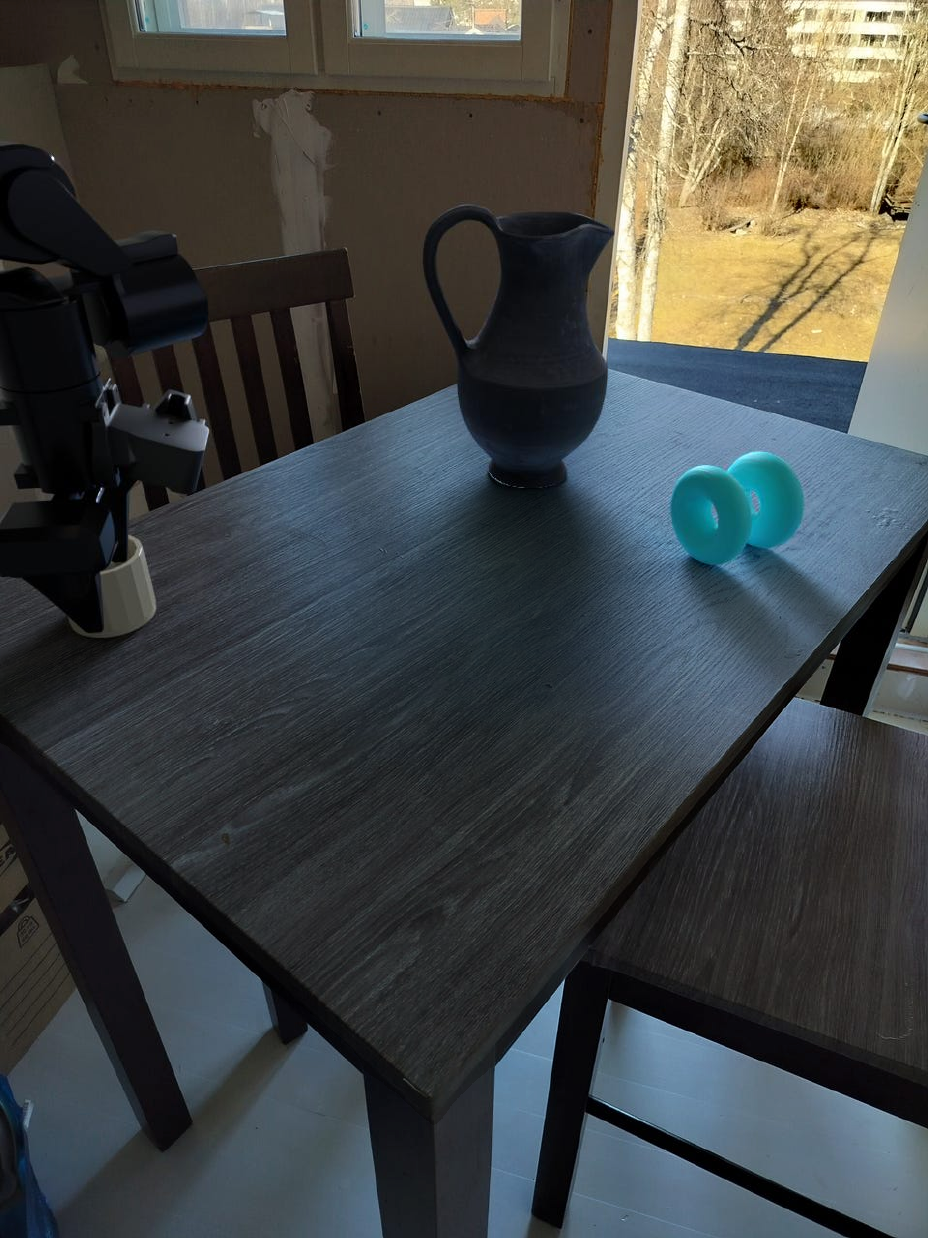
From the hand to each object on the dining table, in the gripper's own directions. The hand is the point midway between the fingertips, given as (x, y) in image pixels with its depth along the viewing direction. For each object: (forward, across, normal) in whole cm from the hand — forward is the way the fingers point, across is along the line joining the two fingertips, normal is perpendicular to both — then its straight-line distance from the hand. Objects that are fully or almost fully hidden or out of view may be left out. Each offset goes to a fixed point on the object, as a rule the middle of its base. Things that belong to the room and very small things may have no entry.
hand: (108, 594), depth 60 cm
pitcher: (+12, +40, -38) cm, 56 cm away
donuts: (+12, +18, -56) cm, 60 cm away
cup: (+12, +16, +5) cm, 20 cm away
